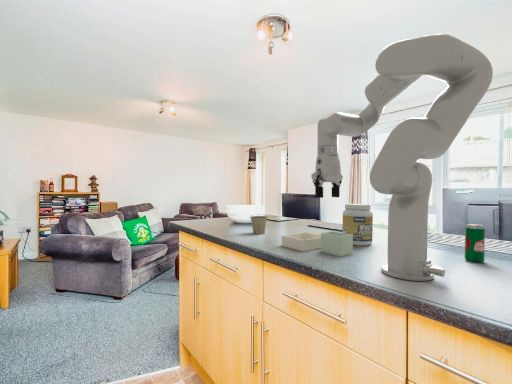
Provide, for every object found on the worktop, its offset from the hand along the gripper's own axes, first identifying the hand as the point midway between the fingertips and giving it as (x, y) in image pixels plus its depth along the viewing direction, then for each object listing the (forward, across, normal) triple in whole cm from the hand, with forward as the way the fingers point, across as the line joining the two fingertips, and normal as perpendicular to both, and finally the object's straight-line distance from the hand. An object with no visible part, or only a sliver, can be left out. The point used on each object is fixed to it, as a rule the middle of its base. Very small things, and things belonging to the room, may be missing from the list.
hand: (327, 197), depth 101 cm
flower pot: (+20, +3, +46) cm, 50 cm away
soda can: (+21, +28, -38) cm, 51 cm away
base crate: (+20, -1, +11) cm, 23 cm away
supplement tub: (+20, +22, +1) cm, 30 cm away
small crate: (+20, +1, -3) cm, 21 cm away
